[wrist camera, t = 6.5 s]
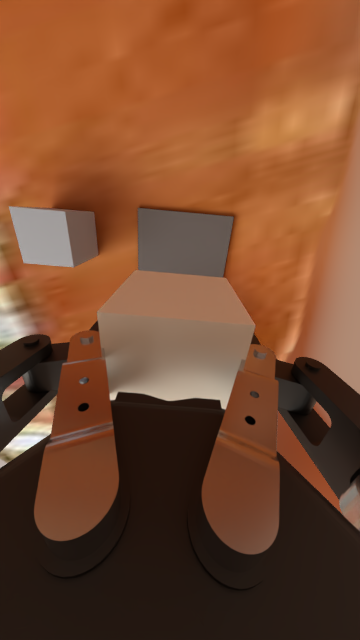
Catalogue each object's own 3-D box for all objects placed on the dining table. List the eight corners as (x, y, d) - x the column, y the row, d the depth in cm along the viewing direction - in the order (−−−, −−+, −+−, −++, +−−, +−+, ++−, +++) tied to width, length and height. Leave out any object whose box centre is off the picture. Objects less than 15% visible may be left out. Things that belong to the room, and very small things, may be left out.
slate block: (51, 208, 22) (8, 206, 17) (94, 211, 22) (65, 211, 17) (59, 252, 24) (23, 263, 19) (98, 255, 24) (73, 267, 19)
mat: (138, 208, 22) (137, 207, 21) (233, 216, 22) (233, 216, 21) (139, 311, 27) (139, 312, 27) (215, 317, 27) (215, 319, 27)
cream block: (135, 270, 12) (97, 312, 7) (226, 277, 12) (255, 325, 7) (136, 345, 15) (109, 418, 10) (212, 351, 15) (226, 428, 10)
